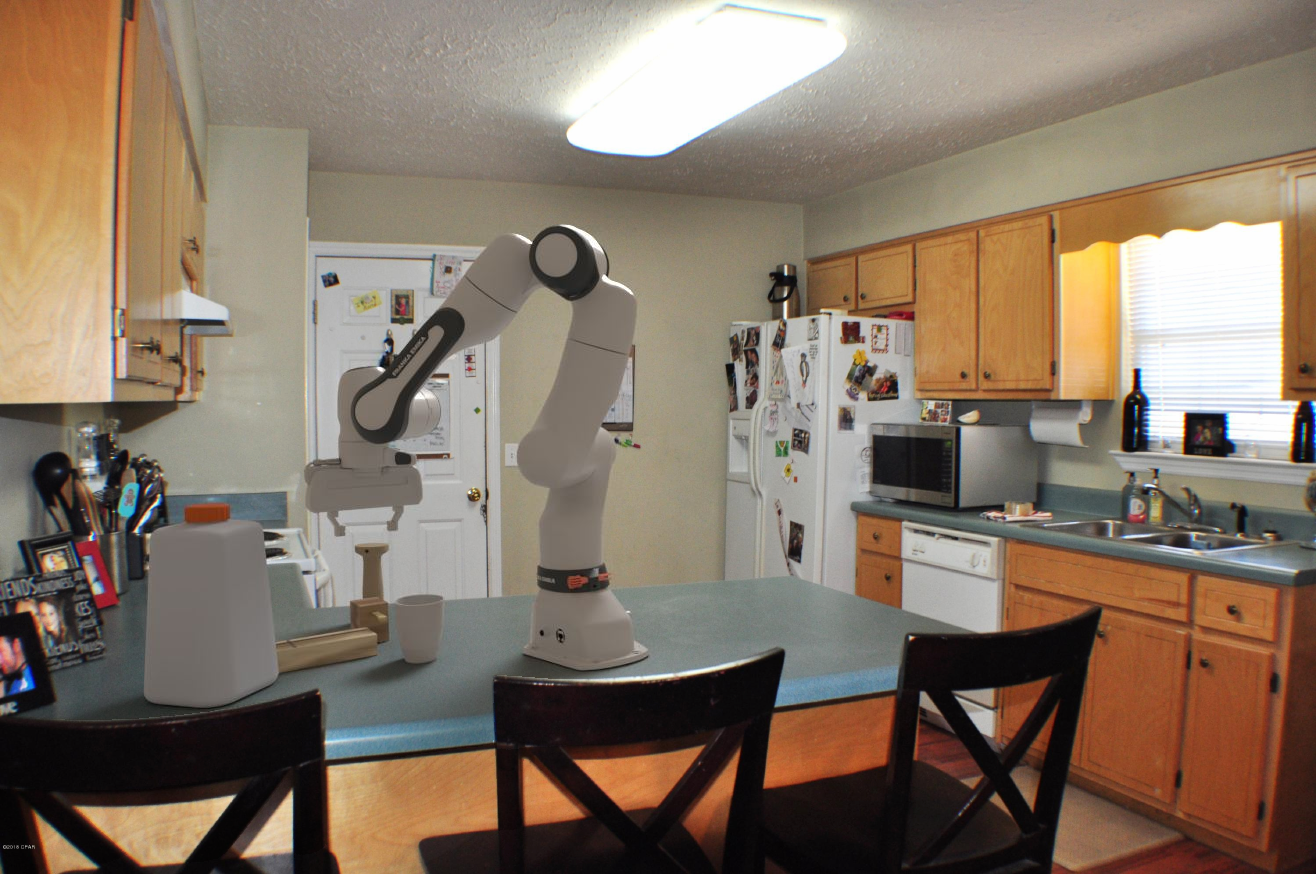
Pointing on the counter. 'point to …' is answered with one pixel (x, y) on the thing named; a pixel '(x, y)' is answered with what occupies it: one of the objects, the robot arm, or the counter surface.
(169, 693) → the plastic bottle
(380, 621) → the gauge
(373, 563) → the handle
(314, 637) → the board
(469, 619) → the counter surface
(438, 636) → the cup
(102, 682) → the counter surface
